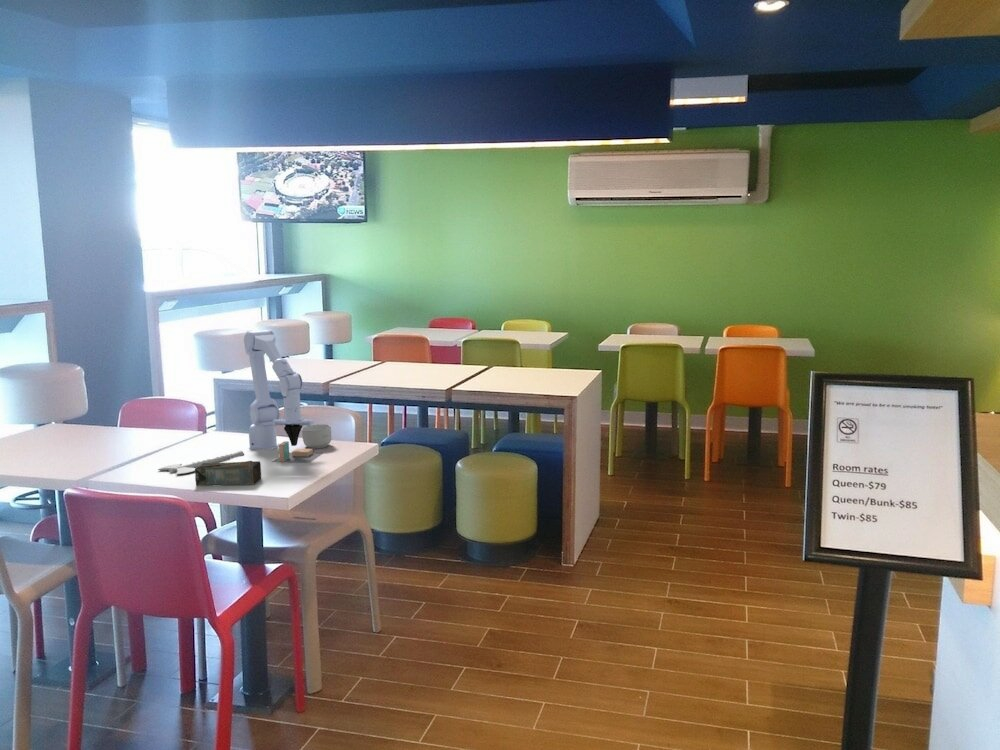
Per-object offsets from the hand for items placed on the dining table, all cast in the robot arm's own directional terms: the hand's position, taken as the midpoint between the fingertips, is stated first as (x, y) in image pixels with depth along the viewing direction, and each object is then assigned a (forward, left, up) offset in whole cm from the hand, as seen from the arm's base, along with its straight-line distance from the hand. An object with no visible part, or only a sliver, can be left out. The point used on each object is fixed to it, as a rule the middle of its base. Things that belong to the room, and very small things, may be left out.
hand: (294, 445), depth 304 cm
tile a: (0, 0, -3) cm, 3 cm away
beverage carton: (-8, -35, -4) cm, 36 cm away
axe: (-27, -14, -5) cm, 31 cm away
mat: (+2, -4, -4) cm, 6 cm away
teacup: (+3, +16, -4) cm, 16 cm away
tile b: (-1, -7, -4) cm, 8 cm away
